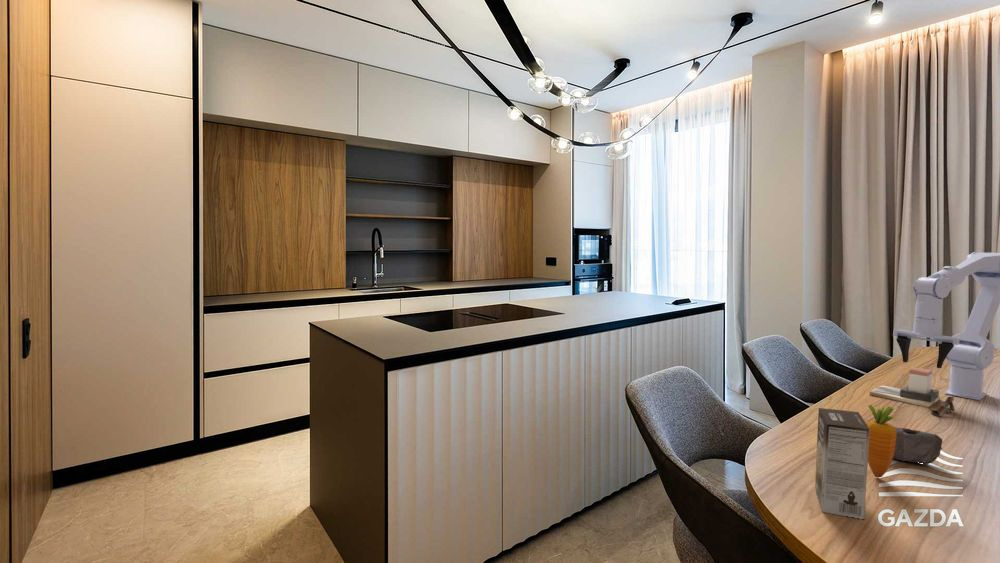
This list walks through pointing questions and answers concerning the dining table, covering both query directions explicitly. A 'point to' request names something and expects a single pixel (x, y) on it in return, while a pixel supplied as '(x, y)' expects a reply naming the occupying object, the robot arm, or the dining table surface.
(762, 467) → the dining table surface
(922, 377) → the plug
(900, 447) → the perforated stone tool
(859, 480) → the coffee box
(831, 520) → the dining table surface
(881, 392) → the board
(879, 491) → the dining table surface
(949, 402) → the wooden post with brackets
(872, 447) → the carrot
